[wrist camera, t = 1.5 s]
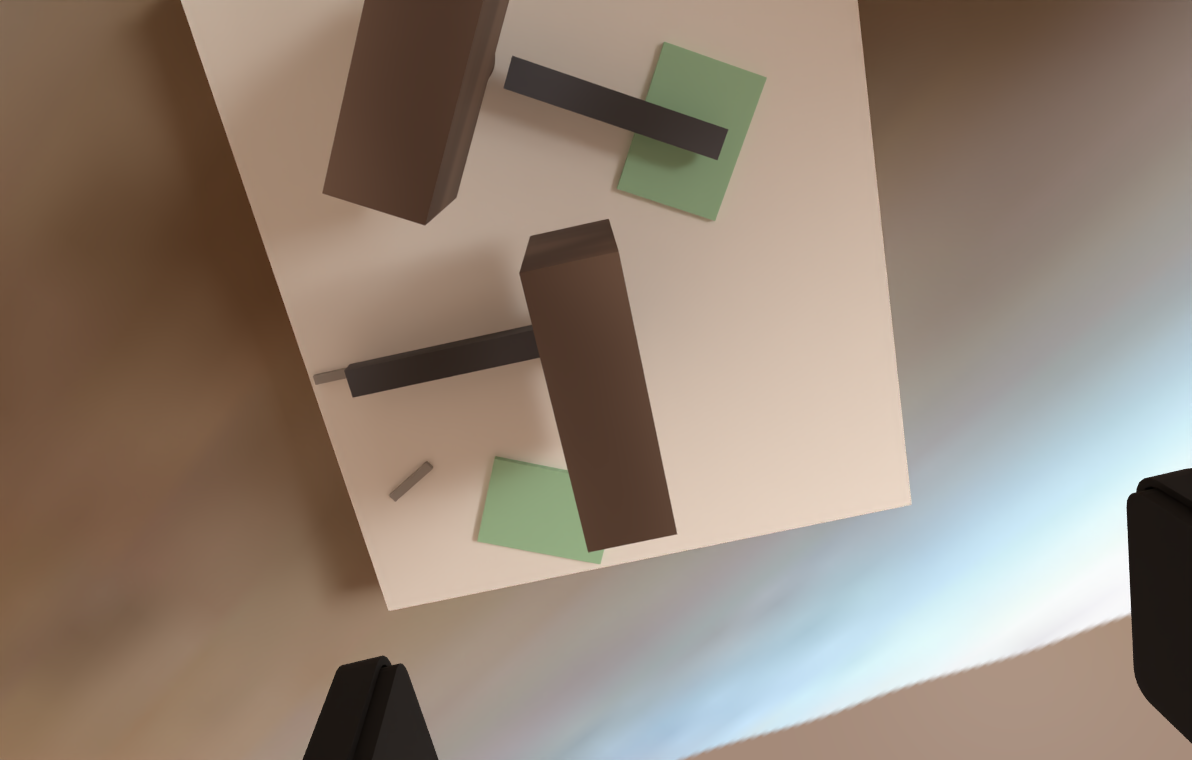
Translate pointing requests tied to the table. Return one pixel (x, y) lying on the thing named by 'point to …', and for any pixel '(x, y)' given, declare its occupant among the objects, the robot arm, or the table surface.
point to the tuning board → (649, 262)
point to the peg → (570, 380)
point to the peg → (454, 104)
